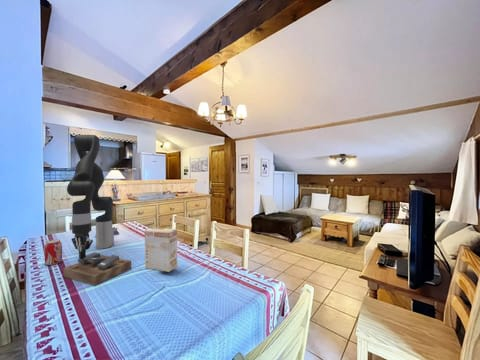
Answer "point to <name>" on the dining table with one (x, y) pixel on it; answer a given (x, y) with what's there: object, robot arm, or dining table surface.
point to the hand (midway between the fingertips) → (82, 258)
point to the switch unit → (96, 271)
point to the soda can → (53, 252)
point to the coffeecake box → (161, 249)
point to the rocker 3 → (108, 262)
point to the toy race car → (114, 231)
